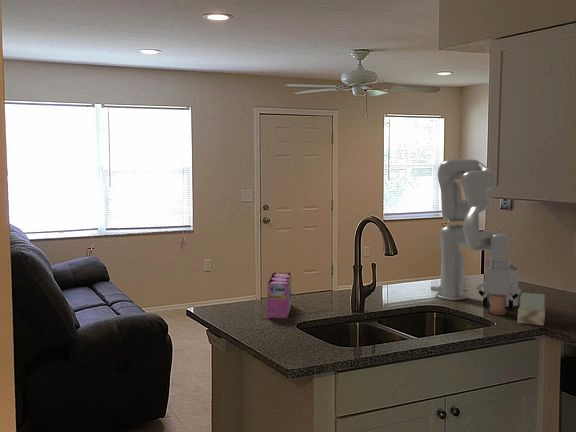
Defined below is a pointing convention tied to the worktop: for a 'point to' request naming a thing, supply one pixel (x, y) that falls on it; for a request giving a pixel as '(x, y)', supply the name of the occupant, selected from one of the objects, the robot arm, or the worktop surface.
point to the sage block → (532, 302)
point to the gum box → (279, 296)
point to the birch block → (531, 317)
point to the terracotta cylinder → (497, 304)
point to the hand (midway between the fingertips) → (497, 308)
